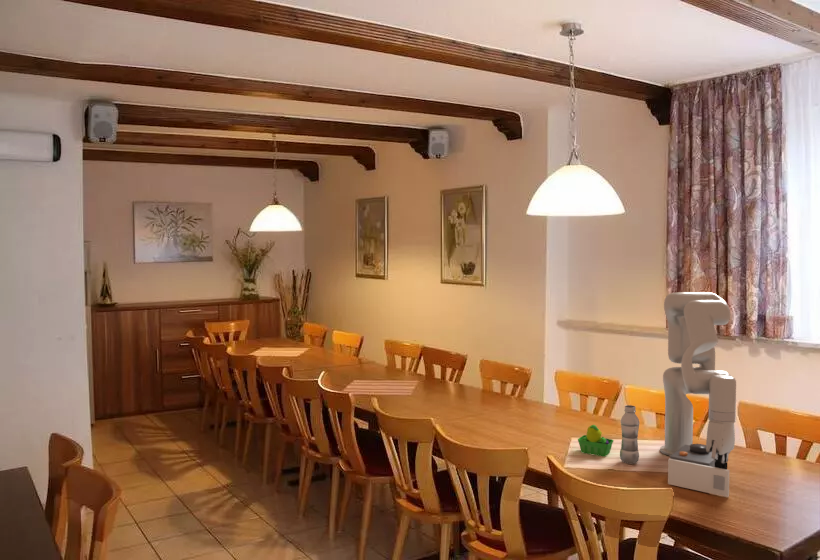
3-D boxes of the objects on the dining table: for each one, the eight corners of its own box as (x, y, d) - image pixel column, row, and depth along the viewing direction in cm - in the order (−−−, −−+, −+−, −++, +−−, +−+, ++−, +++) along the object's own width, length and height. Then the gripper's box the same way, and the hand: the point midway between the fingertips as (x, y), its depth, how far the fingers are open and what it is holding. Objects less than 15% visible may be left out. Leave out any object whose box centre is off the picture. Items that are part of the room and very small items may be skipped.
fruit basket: (614, 453, 255) (614, 422, 255) (606, 459, 248) (606, 428, 247) (584, 448, 262) (584, 418, 261) (575, 454, 254) (575, 423, 254)
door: (669, 482, 222) (669, 458, 222) (728, 496, 211) (729, 470, 210) (667, 484, 221) (667, 459, 220) (727, 497, 209) (727, 471, 209)
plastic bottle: (635, 459, 247) (635, 404, 246) (641, 465, 241) (642, 408, 239) (617, 459, 247) (617, 404, 246) (623, 466, 240) (624, 408, 239)
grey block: (684, 470, 235) (685, 439, 235) (722, 478, 228) (723, 446, 227) (669, 483, 223) (670, 451, 222) (708, 492, 215) (709, 458, 215)
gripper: (720, 409, 221) (719, 466, 222) (698, 417, 211) (697, 477, 212) (744, 413, 215) (743, 472, 216) (723, 422, 205) (722, 483, 206)
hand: (720, 474), depth 214 cm, fingers closed
